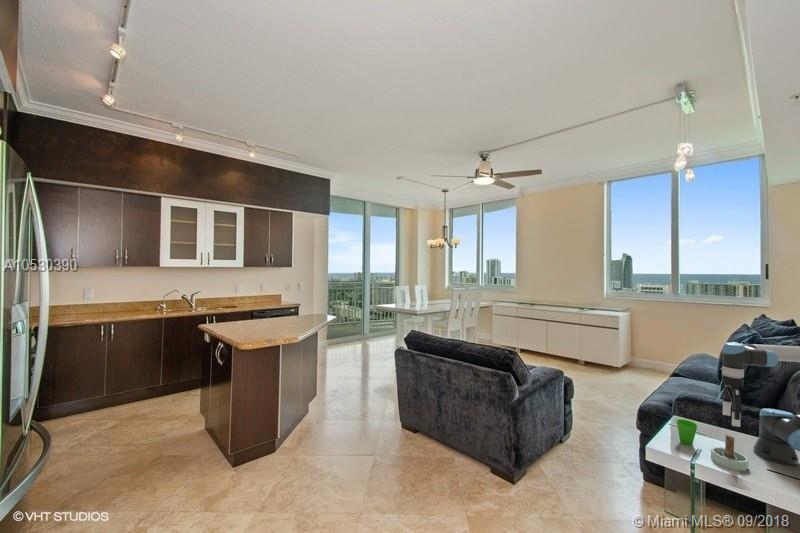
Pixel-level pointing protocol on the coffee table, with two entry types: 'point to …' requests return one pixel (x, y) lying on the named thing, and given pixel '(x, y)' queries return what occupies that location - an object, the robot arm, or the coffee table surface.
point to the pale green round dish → (729, 459)
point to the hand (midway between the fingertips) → (731, 420)
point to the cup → (686, 431)
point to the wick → (729, 446)
